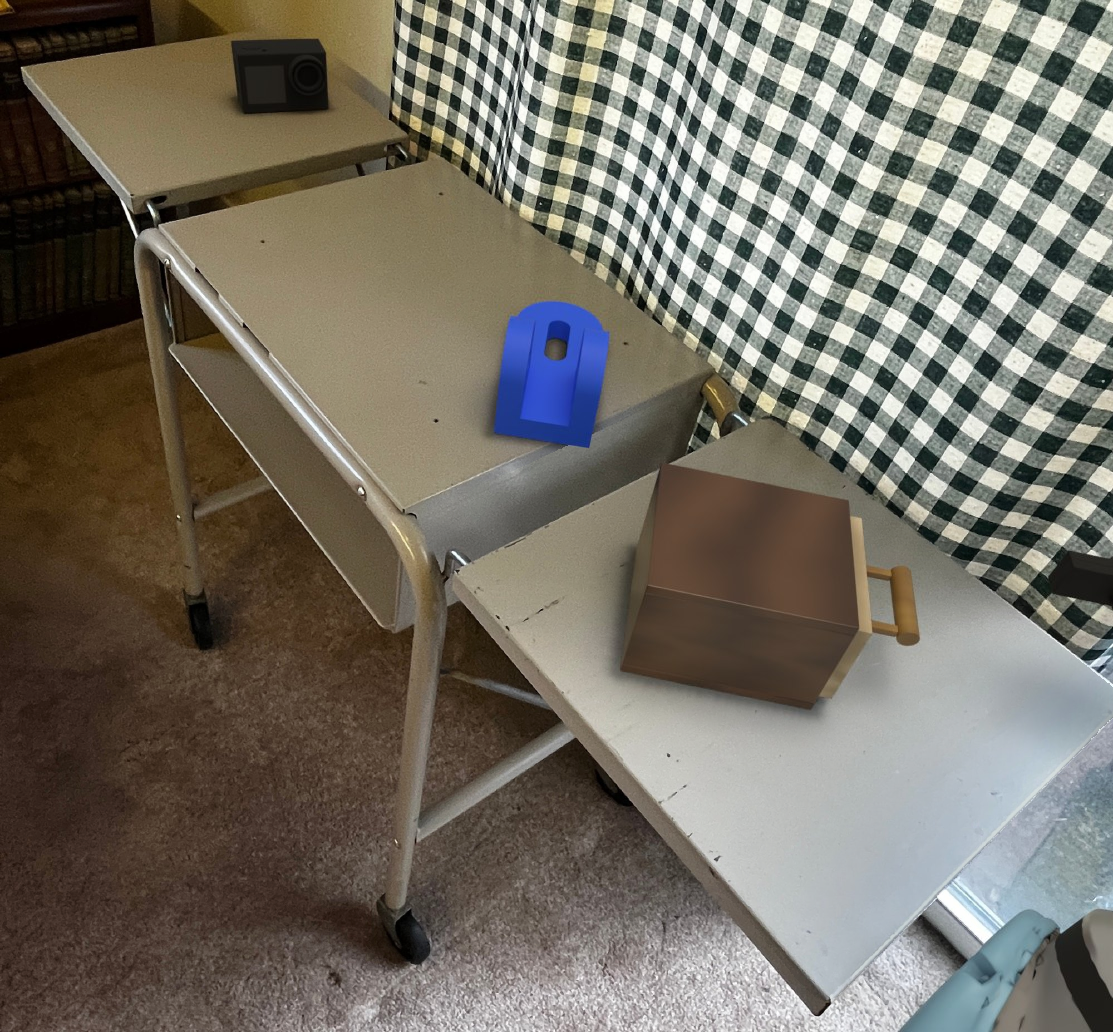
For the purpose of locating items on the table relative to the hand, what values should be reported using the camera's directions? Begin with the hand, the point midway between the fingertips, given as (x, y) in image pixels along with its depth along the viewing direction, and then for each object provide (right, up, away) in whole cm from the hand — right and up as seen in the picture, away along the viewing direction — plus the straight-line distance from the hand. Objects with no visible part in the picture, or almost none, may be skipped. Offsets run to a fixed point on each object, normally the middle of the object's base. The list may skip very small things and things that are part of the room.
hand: (1060, 572), depth 62 cm
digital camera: (-66, +54, +56) cm, 102 cm away
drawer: (-17, -5, +9) cm, 19 cm away
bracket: (-33, +16, +27) cm, 46 cm away
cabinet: (-21, -4, +9) cm, 23 cm away
